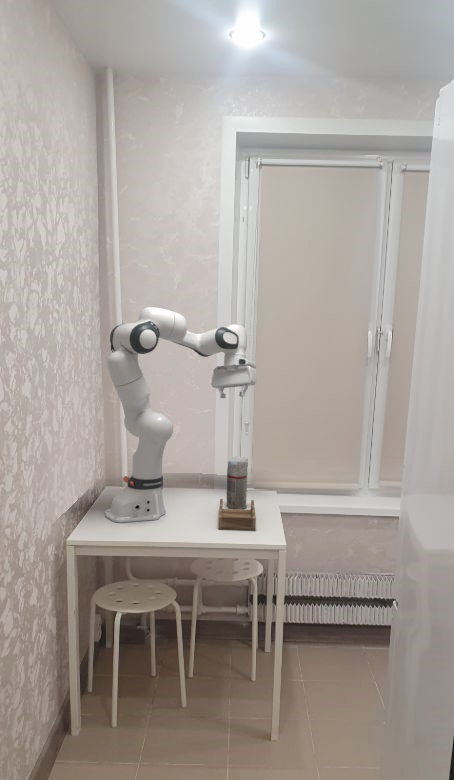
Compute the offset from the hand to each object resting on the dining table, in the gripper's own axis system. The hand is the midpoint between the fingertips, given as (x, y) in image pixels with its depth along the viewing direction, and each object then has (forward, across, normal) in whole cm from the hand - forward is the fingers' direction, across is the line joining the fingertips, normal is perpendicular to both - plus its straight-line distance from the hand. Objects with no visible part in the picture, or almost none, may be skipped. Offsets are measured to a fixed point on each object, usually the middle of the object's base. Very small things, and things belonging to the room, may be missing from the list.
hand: (232, 397), depth 242 cm
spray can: (+43, 0, +8) cm, 44 cm away
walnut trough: (+48, +9, -4) cm, 49 cm away
